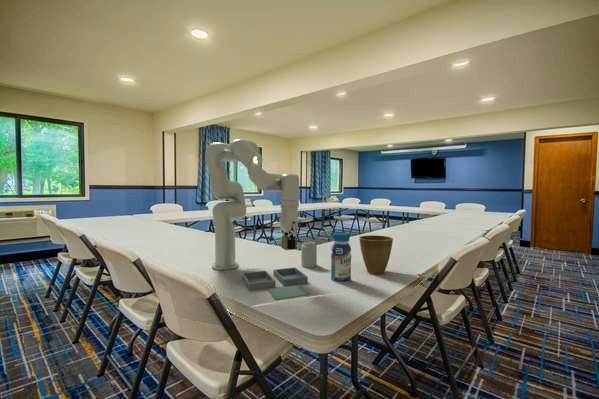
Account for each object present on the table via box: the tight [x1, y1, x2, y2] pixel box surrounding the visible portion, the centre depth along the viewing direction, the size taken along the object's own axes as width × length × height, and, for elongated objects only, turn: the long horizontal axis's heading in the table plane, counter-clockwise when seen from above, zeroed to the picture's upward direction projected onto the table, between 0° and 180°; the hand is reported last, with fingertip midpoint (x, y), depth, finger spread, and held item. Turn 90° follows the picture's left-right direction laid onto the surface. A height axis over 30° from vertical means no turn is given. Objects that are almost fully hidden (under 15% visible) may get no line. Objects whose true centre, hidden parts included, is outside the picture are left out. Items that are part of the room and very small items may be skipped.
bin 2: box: [272, 267, 309, 286], centre depth 118 cm, size 14×10×3 cm
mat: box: [266, 284, 311, 301], centre depth 104 cm, size 11×13×1 cm
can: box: [300, 241, 318, 269], centre depth 138 cm, size 8×8×12 cm
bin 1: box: [241, 270, 276, 292], centre depth 113 cm, size 14×10×3 cm
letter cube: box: [281, 234, 298, 251], centre depth 118 cm, size 5×5×5 cm
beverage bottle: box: [330, 231, 352, 284], centre depth 117 cm, size 8×8×20 cm
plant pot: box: [358, 234, 394, 275], centre depth 130 cm, size 15×15×16 cm
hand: (289, 247), depth 118 cm, fingers closed on letter cube, 4 cm apart
